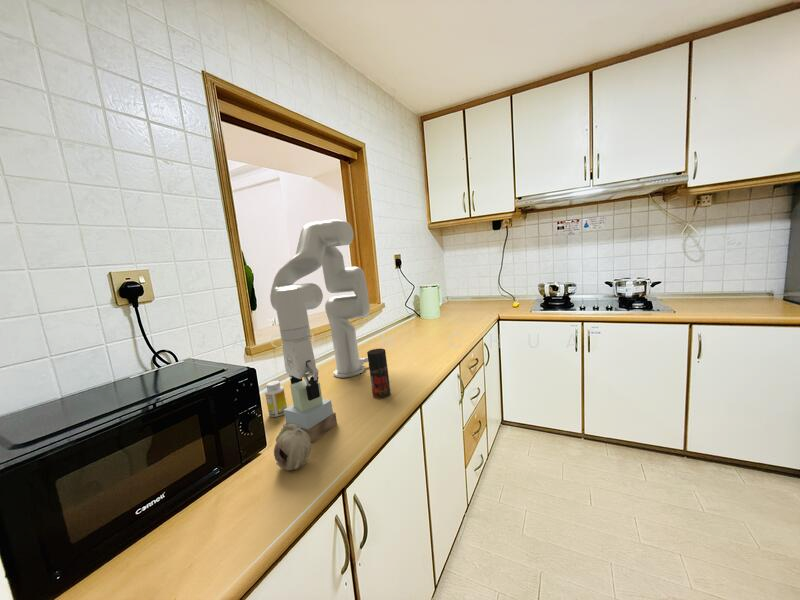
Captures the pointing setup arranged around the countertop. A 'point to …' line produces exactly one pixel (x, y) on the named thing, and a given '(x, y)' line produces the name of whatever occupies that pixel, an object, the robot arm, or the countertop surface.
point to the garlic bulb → (292, 447)
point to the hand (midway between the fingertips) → (305, 394)
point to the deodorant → (379, 373)
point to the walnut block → (321, 427)
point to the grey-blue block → (308, 415)
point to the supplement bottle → (275, 399)
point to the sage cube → (304, 396)
